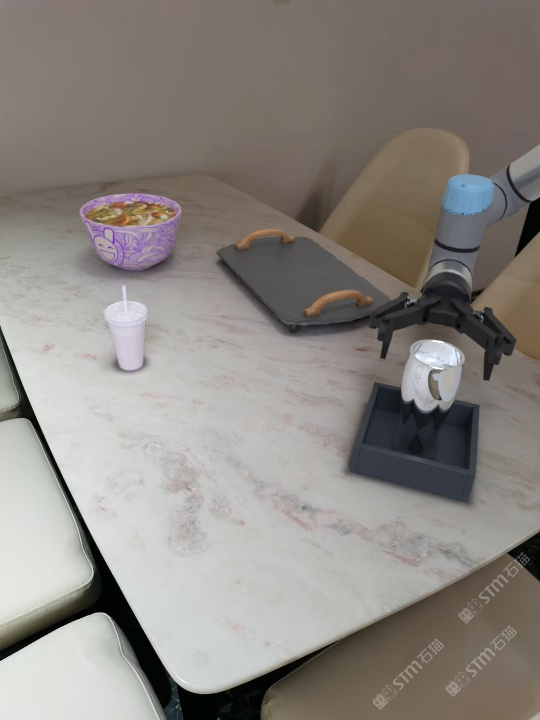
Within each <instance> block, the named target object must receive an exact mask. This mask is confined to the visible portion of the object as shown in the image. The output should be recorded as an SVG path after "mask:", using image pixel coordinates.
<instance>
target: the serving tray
mask: <svg viewBox="0 0 540 720" xmlns="http://www.w3.org/2000/svg"><path fill="white" fill-rule="evenodd" d="M273 236H274V237H273ZM216 255H217V256H218V257H219V258H220V259H221V261H222V262H223V264H225V265H227V267H229V269H230V271H232V272H233V273H235V275H236V276H237V277H238V278H239V280H240V281H242V282H243V283H244V285H246V286H247V287H248V288H249V290H250V291H251V292H252V293H253V294H254V295H255V296H256V297H257V298H258V299H259V300H260V301H261V302H262V303H263V304H264V305H265V306H266V307H267V309H269V310H270V312H272V314H274V315H275V317H276V318H277V319H278V320H279V321H280V322H282V323H283V324H285V325H287V330H288V331H289V333H291V334H296V333H298V332H299V330H300V328H301V326H303V327H307V326H327V325H333V324H341V323H349V322H352V321H356V320H359V319H363V318H365V317H370V315H371V311H373V310H375V309H377V308H378V307H380V306H382V305H384V304H386V303H388V302H390V301H392V300H391V298H390V297H388V295H387V294H385V293H383V292H382V291H381V290H380V289H379V288H377V287H376V286H374V285H373V283H371V282H370V281H368V279H366V278H365V277H363V276H361V275H360V274H358V273H356V271H354V270H353V269H352V268H351V267H350V266H349V265H348V264H346V263H344V262H343V261H342V260H340V259H338V258H337V256H335V255H334V254H333V253H332V252H330V251H328V250H327V249H325V248H324V247H323V246H321V245H320V244H319V243H318V242H316V241H314V239H312V238H310V237H306V236H305V237H304V236H293V235H287V233H285V232H284V231H283V230H281V229H278V228H265V229H259V230H256V231H252V232H250V233H248V234H247V235H246V236H245V237H244V238H243V239H242V240H241V241H238V242H236V243H232V244H229V245H227V246H224V247H221V248H219V249H218V250H217V251H216Z"/></svg>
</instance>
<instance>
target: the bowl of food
mask: <svg viewBox="0 0 540 720" xmlns="http://www.w3.org/2000/svg"><path fill="white" fill-rule="evenodd" d="M78 213H79V217H80V219H81V221H82V224H83V226H84V229H85V231H86V234H87V237H88V239H89V242H90V244H91V246H92V248H93V250H94V252H95V254H96V255H97V256H98V258H100V259H101V260H102V261H104V263H107V264H109V265H111V266H113V267H117V268H119V269H122V270H125V271H130V272H131V271H143V270H147V269H149V268H152V267H153V266H156V265H157V264H159V263H162V262H163V261H165V260H166V259H167V258H168V257H169V256H170V255H171V253H172V251H173V250H174V248H175V244H176V242H177V241H176V240H177V235H178V231H179V226H180V222H181V215H182V207H181V206H180V205H179V203H177V201H175V200H173V199H170V198H168V197H164V196H160V195H157V194H150V193H149V194H148V193H118V194H117V193H116V194H110V195H105V196H101V197H97V198H95V199H92V200H89V201H87V202H86V203H85V204H83V205H82V206H81V207H80V209H79V212H78Z"/></svg>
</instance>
